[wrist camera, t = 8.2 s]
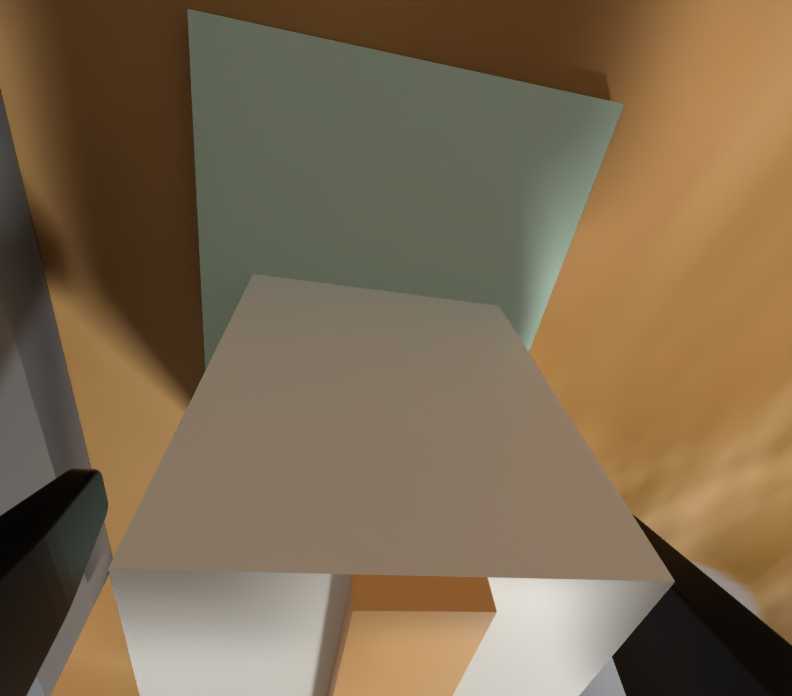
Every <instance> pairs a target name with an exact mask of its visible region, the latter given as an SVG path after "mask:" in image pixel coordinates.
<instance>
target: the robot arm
mask: <svg viewBox="0 0 792 696" xmlns="http://www.w3.org/2000/svg"><path fill="white" fill-rule="evenodd" d="M107 510H108V500H107V495H106V491H105V486H104V482H103V477H102V474H101V472H100V471H99V470H96V469H82V468H74V469H70V470H68V471H66V472H64V473H63V474H61V475H60V476H58V477H57V478H55V479H54V480H52V481H51V482H49V483H48V484H47V485H45V486H44V487H42V488H41V489H39V490H38V491H36V492H35V493H33V494H32V495H30V496H29V497H27V498H26V499H24V500H23V501H21V502H20V503H18V504H17V505H15V506H14V507H12V508H11V509H9V510H8V511H6V512H5V513H3V514H2V515H0V696H27V694H28V692H29V690H30V688H31V686H32V684H33V682H34V680H35V678H36V676H37V674H38V672H39V670H40V668H41V666H42V664H43V662H44V660H45V659H46V657H47V655H48V653H49V651H50V649H51V647H52V645H53V643H54V641H55V639H56V637H57V635H58V633H59V631H60V629H61V627H62V625H63V623H64V621H65V619H66V616H67V614H68V612H69V610H70V608H71V605H72V603H73V601H74V598H75V596H76V593H77V591H78V588H79V585H80V583H81V580H82V578H83V575H84V572H85V570H86V567H87V564H88V562H89V559H90V557H91V554H92V551H93V549H94V546H95V544H96V541H97V538H98V536H99V533H100V530H101V528H102V525H103V523H104V520H105V517H106V514H107ZM632 515H633V514H632ZM633 516H634V515H633ZM634 518H635V520H636V521H637V523H638V524H639V526H640V527H641V529H642V530H643V532H644V534H645V535H646V537H647V538H648V540H649V541H650V543H651V545H652V546H653V548H654V549H655V551H656V552H657V554H658V556H659V557H660V559H661V560H662V562H663V563H664V565H665V566H666V568H667V570H668V571H669V573H670V574H671V576H672V577H673V579H674V581H675V582H674V584H673V585H672V586H671V587H670V588H669V589H668V591H667V592H666V593H665V594H664V595H663V597H662V598H661V599H660V600H659V601H658V603H657V604H656V605H655V606H654V607H653V608H652V610H651V611H650V612H649V613H648V614H647V616H646V617H645V618H644V619H643V620H642V621H641V623H640V624H639V625H638V626H637V627H636V629H635V630H634V631H633V632H632V633H631V635H630V636H629V637H628V638H627V639H626V640H625V642H624V643H623V644H622V645H621V646H620V648H619V649H618V650H617V651H616V652H615V653H614V655H613V656H612V658H613V661H614V663H615V666H616V669H617V672H618V674H619V677H620V680H621V683H622V685H623V688H624V691H625V694H626V696H792V645H791V644H790V643H788V642H787V641H786V640H785V639H784V638H782V637H781V636H780V635H779V634H777V633H776V632H775V631H774V630H773V629H771V628H770V627H769V626H768V625H767V624H765V623H764V622H763V621H762V620H760V619H759V618H758V617H757V616H756V615H754V614H753V613H752V612H751V611H750V610H748V609H747V608H746V607H745V606H743V605H742V604H741V603H740V602H739V601H737V600H736V599H735V598H734V597H733V596H731V595H730V594H729V593H728V592H726V591H725V590H724V589H723V588H722V587H720V586H719V585H718V584H717V583H716V582H714V581H713V580H712V579H711V578H709V577H708V576H707V575H706V574H705V573H703V572H702V571H701V570H700V569H699V568H697V567H696V566H695V565H694V564H692V563H691V562H690V561H689V560H688V559H686V558H685V557H684V556H683V555H682V554H680V553H679V552H678V551H677V550H675V549H674V548H673V547H672V546H671V545H669V544H668V543H667V542H666V541H665V540H663V539H662V538H661V537H660V536H658V535H657V534H656V533H655V532H654V531H652V530H651V529H650V528H649V527H648V526H646V525H645V524H644V523H643V522H642V521H640V520H639V519H638V518H637V517H635V516H634Z"/></svg>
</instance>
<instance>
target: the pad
mask: <svg viewBox="0 0 792 696" xmlns="http://www.w3.org/2000/svg"><path fill="white" fill-rule="evenodd" d="M187 13H188V34H189V54H190V74H191V94H192V114H193V134H194V155H195V175H196V195H197V215H198V235H199V255H200V276H201V296H202V316H203V336H204V356H205V371H206V369H207V367H208V365H209V363H210V360H211V358H212V356H213V354H214V352H215V350H216V348H217V346H218V344H219V342H220V340H221V338H222V336H223V334H224V332H225V330H226V328H227V326H228V324H229V322H230V320H231V318H232V316H233V314H234V312H235V310H236V308H237V306H238V304H239V302H240V299H241V297H242V295H243V293H244V291H245V289H246V287H247V285H248V283H249V281H250V279H251V277H252V275H253V274H258V275H265V276H273V277H281V278H289V279H296V280H304V281H312V282H320V283H327V284H335V285H343V286H351V287H358V288H366V289H374V290H382V291H389V292H397V293H405V294H413V295H420V296H428V297H436V298H443V299H451V300H459V301H467V302H474V303H482V304H490V305H498V306H499V307H500V308H501V310H502V312H503V313H504V315H505V316H506V318H507V319H508V321H509V323H510V324H511V326H512V327H513V329H514V330H515V332H516V333H517V335H518V337H519V338H520V340H521V341H522V343H523V344H524V346H525V348H526V349H527V351H528V352H529V350H530V347H531V344H532V342H533V339H534V337H535V334H536V332H537V329H538V326H539V324H540V321H541V319H542V316H543V313H544V311H545V308H546V306H547V303H548V300H549V298H550V295H551V293H552V290H553V287H554V285H555V282H556V280H557V277H558V274H559V272H560V269H561V267H562V264H563V262H564V259H565V256H566V254H567V251H568V249H569V246H570V243H571V241H572V238H573V236H574V233H575V230H576V228H577V225H578V223H579V220H580V217H581V215H582V212H583V210H584V207H585V205H586V202H587V199H588V197H589V194H590V192H591V189H592V186H593V184H594V181H595V179H596V176H597V173H598V171H599V168H600V166H601V163H602V160H603V158H604V155H605V153H606V150H607V147H608V145H609V142H610V140H611V137H612V135H613V132H614V129H615V127H616V124H617V122H618V119H619V116H620V114H621V111H622V109H623V106H624V104H623V103H618V102H613V101H609V100H604V99H600V98H595V97H590V96H586V95H581V94H577V93H572V92H567V91H563V90H558V89H554V88H549V87H545V86H540V85H535V84H531V83H526V82H522V81H517V80H512V79H508V78H503V77H499V76H494V75H489V74H485V73H480V72H476V71H471V70H467V69H462V68H457V67H453V66H448V65H444V64H439V63H434V62H430V61H425V60H421V59H416V58H411V57H407V56H402V55H398V54H393V53H389V52H384V51H379V50H375V49H370V48H366V47H361V46H356V45H352V44H347V43H343V42H338V41H333V40H329V39H324V38H320V37H315V36H311V35H306V34H301V33H297V32H292V31H288V30H283V29H278V28H274V27H269V26H265V25H260V24H255V23H251V22H246V21H242V20H237V19H233V18H228V17H223V16H219V15H214V14H210V13H205V12H200V11H196V10H191V9H187Z"/></svg>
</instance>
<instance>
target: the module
mask: <svg viewBox="0 0 792 696" xmlns="http://www.w3.org/2000/svg"><path fill="white" fill-rule="evenodd" d="M108 571H109V575H110V579H111V583H112V587H113V591H114V595H115V599H116V603H117V607H118V611H119V615H120V619H121V623H122V626H123V630H124V634H125V638H126V642H127V646H128V650H129V654H130V658H131V662H132V666H133V670H134V674H135V678H136V682H137V686H138V690H139V694H140V696H579V695H580V694H581V692H582V691H583V690H584V689H585V688H586V687H587V685H588V684H589V683H590V682H591V681H592V679H593V678H594V677H595V676H596V675H597V674H598V672H599V671H600V670H601V669H602V668H603V666H604V665H605V664H606V663H607V662H608V660H609V659H610V658H611V657H612V656H613V655H614V653H615V652H616V651H617V650H618V649H619V648H620V646H621V645H622V644H623V643H624V642H625V640H626V639H627V638H628V637H629V636H630V635H631V633H632V632H633V631H634V630H635V629H636V627H637V626H638V625H639V624H640V623H641V621H642V620H643V619H644V618H645V617H646V616H647V614H648V613H649V612H650V611H651V610H652V608H653V607H654V606H655V605H656V604H657V603H658V601H659V600H660V599H661V598H662V597H663V595H664V594H665V593H666V592H667V591H668V589H669V588H670V587H671V586H672V585H673V584H674V582H675V581H674V579H673V577H672V576H671V574H670V573H669V571H668V570H667V568H666V566H665V565H664V563H663V562H662V560H661V559H660V557H659V556H658V554H657V552H656V551H655V549H654V548H653V546H652V545H651V543H650V541H649V540H648V538H647V537H646V535H645V534H644V532H643V530H642V529H641V527H640V526H639V524H638V523H637V521H636V520H635V518H634V516H633V515H632V513H631V512H630V510H629V509H628V507H627V505H626V504H625V502H624V501H623V499H622V498H621V496H620V495H619V493H618V491H617V490H616V488H615V487H614V485H613V484H612V482H611V480H610V479H609V477H608V476H607V474H606V473H605V471H604V470H603V468H602V466H601V465H600V463H599V462H598V460H597V459H596V457H595V455H594V454H593V452H592V451H591V449H590V448H589V446H588V444H587V443H586V441H585V440H584V438H583V437H582V435H581V434H580V432H579V430H578V429H577V427H576V426H575V424H574V423H573V421H572V419H571V418H570V416H569V415H568V413H567V412H566V410H565V409H564V407H563V405H562V404H561V402H560V401H559V399H558V398H557V396H556V394H555V393H554V391H553V390H552V388H551V387H550V385H549V384H548V382H547V380H546V379H545V377H544V376H543V374H542V373H541V371H540V369H539V368H538V366H537V365H536V363H535V362H534V360H533V358H532V357H531V355H530V354H529V352H528V351H527V349H526V348H525V346H524V344H523V343H522V341H521V340H520V338H519V337H518V335H517V333H516V332H515V330H514V329H513V327H512V326H511V324H510V323H509V321H508V319H507V318H506V316H505V315H504V313H503V312H502V310H501V308H500V307H499V306H498V305H490V304H482V303H474V302H467V301H459V300H451V299H443V298H436V297H428V296H420V295H413V294H405V293H397V292H389V291H382V290H374V289H366V288H358V287H351V286H343V285H335V284H327V283H320V282H312V281H304V280H296V279H289V278H281V277H273V276H265V275H258V274H253V275H252V277H251V279H250V281H249V283H248V285H247V287H246V289H245V291H244V293H243V295H242V297H241V299H240V302H239V304H238V306H237V308H236V310H235V312H234V314H233V316H232V318H231V320H230V322H229V324H228V326H227V328H226V330H225V332H224V334H223V336H222V338H221V340H220V342H219V344H218V346H217V348H216V350H215V352H214V354H213V356H212V358H211V360H210V363H209V365H208V367H207V369H206V371H205V373H204V375H203V377H202V379H201V381H200V383H199V385H198V387H197V389H196V391H195V393H194V395H193V397H192V399H191V401H190V403H189V405H188V407H187V409H186V411H185V413H184V415H183V417H182V419H181V421H180V424H179V426H178V428H177V430H176V432H175V434H174V436H173V438H172V440H171V442H170V444H169V446H168V448H167V450H166V452H165V454H164V456H163V458H162V460H161V462H160V464H159V466H158V468H157V470H156V472H155V474H154V476H153V478H152V480H151V483H150V485H149V487H148V489H147V491H146V493H145V495H144V497H143V499H142V501H141V503H140V505H139V507H138V509H137V511H136V513H135V515H134V517H133V519H132V521H131V523H130V525H129V527H128V529H127V531H126V533H125V535H124V537H123V539H122V541H121V544H120V546H119V548H118V550H117V552H116V554H115V556H114V558H113V560H112V562H111V564H110V566H109V568H108Z"/></svg>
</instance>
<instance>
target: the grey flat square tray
mask: <svg viewBox="0 0 792 696" xmlns="http://www.w3.org/2000/svg"><path fill="white" fill-rule="evenodd" d="M74 468H82V469H91V467H90V463H89V459H88V455H87V450H86V446H85V442H84V438H83V434H82V430H81V425H80V421H79V417H78V413H77V409H76V405H75V400H74V396H73V392H72V388H71V384H70V379H69V375H68V371H67V367H66V363H65V359H64V354H63V350H62V346H61V342H60V338H59V333H58V329H57V325H56V321H55V317H54V313H53V308H52V304H51V300H50V296H49V292H48V288H47V283H46V279H45V275H44V271H43V267H42V262H41V258H40V254H39V250H38V246H37V242H36V237H35V233H34V229H33V225H32V221H31V217H30V212H29V208H28V204H27V200H26V196H25V191H24V187H23V183H22V179H21V175H20V171H19V166H18V162H17V158H16V154H15V150H14V146H13V141H12V137H11V133H10V129H9V125H8V120H7V116H6V112H5V108H4V104H3V100H2V95H1V91H0V515H2V514H3V513H5V512H6V511H8V510H9V509H11V508H12V507H14V506H15V505H17V504H18V503H20V502H21V501H23V500H24V499H26V498H27V497H29V496H30V495H32V494H33V493H35V492H36V491H38V490H39V489H41V488H42V487H44V486H45V485H47V484H48V483H49V482H51V481H52V480H54V479H55V478H57V477H58V476H60V475H61V474H63V473H64V472H66V471H68V470H70V469H74ZM112 560H113V559H112V555H111V551H110V547H109V542H108V538H107V534H106V530H105V526H104V523H103V525H102V528H101V530H100V533H99V536H98V538H97V541H96V544H95V546H94V549H93V551H92V554H91V557H90V559H89V562H88V564H87V567H86V570H85V572H84V575H83V578H82V580H81V583H80V585H79V588H78V591H77V593H76V596H75V598H74V601H73V603H72V605H71V608H70V610H69V612H68V614H67V616H66V619H65V621H64V623H63V625H62V627H61V629H60V631H59V633H58V635H57V637H56V639H55V641H54V643H53V645H52V647H51V649H50V651H49V653H48V655H47V657H46V659H45V660H44V662H43V664H42V666H41V668H40V670H39V672H38V674H37V676H36V678H35V680H34V682H33V684H32V686H31V688H30V690H29V692H28V694H27V696H50V695H51V693H52V691H53V689H54V686H55V684H56V682H57V680H58V678H59V676H60V674H61V672H62V670H63V668H64V666H65V664H66V662H67V660H68V658H69V656H70V653H71V651H72V649H73V647H74V645H75V643H76V641H77V639H78V637H79V635H80V633H81V631H82V629H83V627H84V625H85V623H86V620H87V618H88V616H89V614H90V612H91V610H92V608H93V606H94V604H95V602H96V600H97V598H98V596H99V594H100V592H101V590H102V587H103V585H104V583H105V581H106V579H107V577H108V575H109V571H108V568H109V566H110V564H111V562H112Z"/></svg>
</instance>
